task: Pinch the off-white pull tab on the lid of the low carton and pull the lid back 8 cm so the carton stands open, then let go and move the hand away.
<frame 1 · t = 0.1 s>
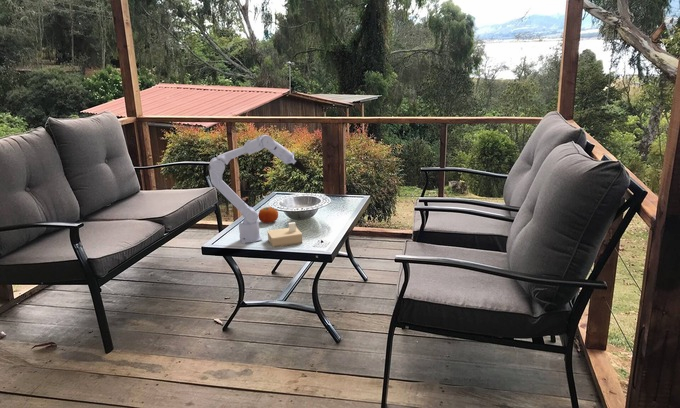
hand: (303, 169, 247), 32 cm above the table, fingers open, 7 cm apart
fruit: (268, 222, 275), on the table
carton: (285, 241, 242), on the table
lid: (284, 228, 241), point 6 cm above the table, slide at 0.0 cm
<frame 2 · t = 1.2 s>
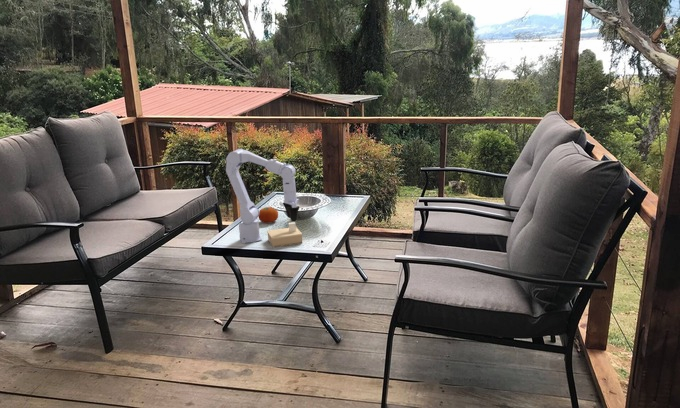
hand: (292, 219, 241), 11 cm above the table, fingers open, 7 cm apart
nothing on the table moved.
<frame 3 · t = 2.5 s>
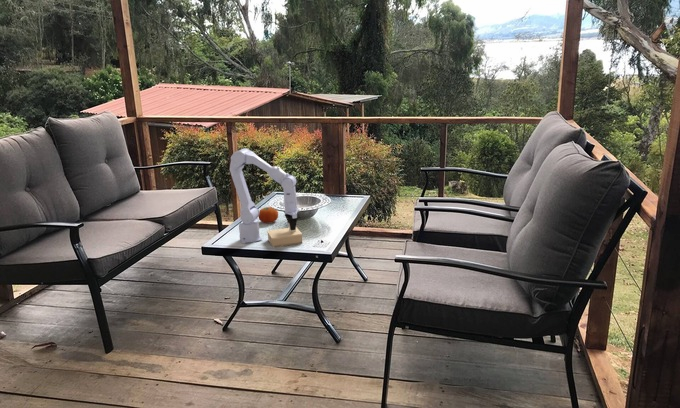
hand: (292, 229, 242), 6 cm above the table, fingers closed on lid, 2 cm apart
lid: (284, 228, 241), point 6 cm above the table, slide at 0.0 cm, touching gripper
everything else where it was.
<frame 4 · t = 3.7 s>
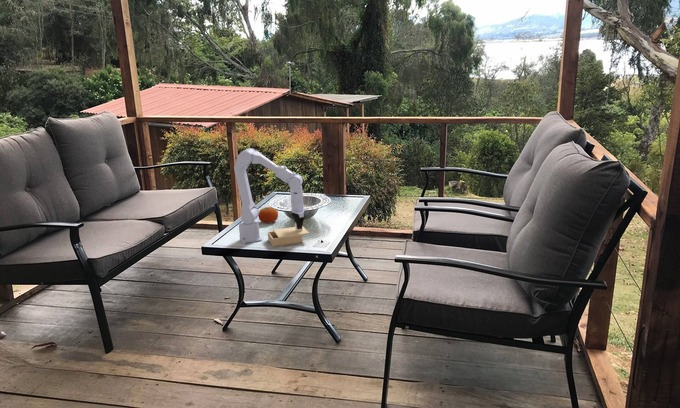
hand: (299, 228, 243), 6 cm above the table, fingers closed on lid, 2 cm apart
lid: (290, 227, 242), point 6 cm above the table, slide at 3.2 cm, touching gripper
everything else where it was.
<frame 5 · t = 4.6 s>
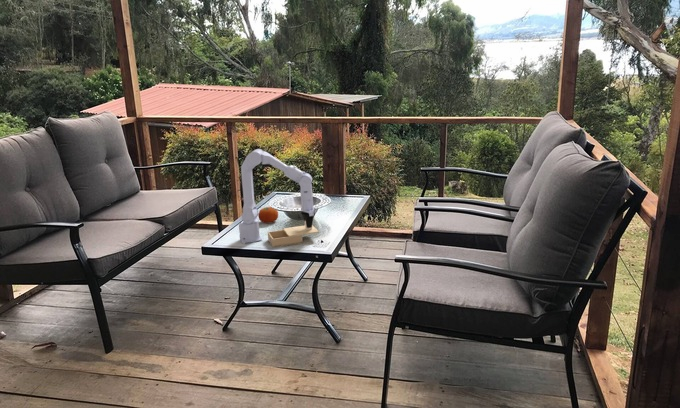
hand: (308, 226, 244), 6 cm above the table, fingers closed on lid, 2 cm apart
lid: (300, 226, 243), point 6 cm above the table, slide at 7.9 cm, touching gripper
everything else where it was.
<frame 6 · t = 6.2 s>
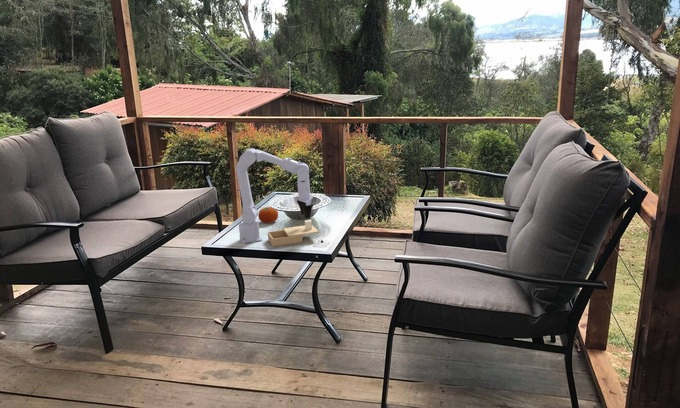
hand: (305, 216, 245), 10 cm above the table, fingers open, 7 cm apart
lid: (300, 226, 243), point 6 cm above the table, slide at 7.9 cm
everything else where it was.
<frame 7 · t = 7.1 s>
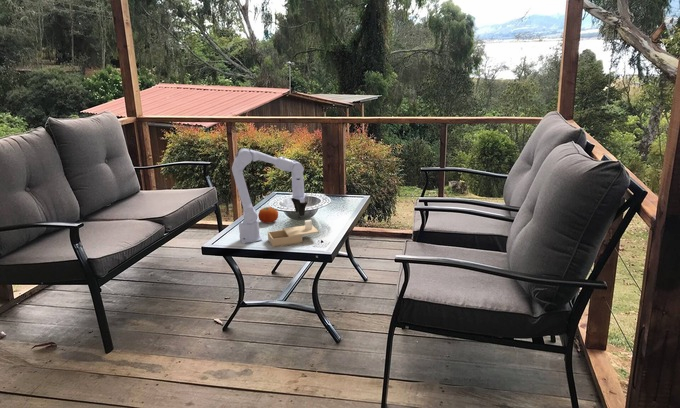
hand: (299, 213, 250), 10 cm above the table, fingers open, 7 cm apart
nothing on the table moved.
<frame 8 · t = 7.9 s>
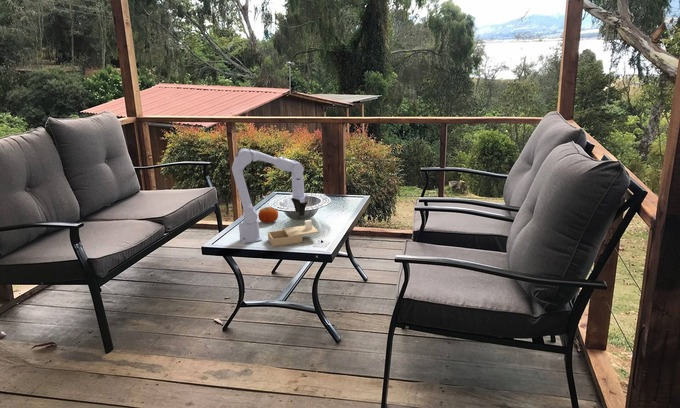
hand: (299, 213, 250), 10 cm above the table, fingers open, 7 cm apart
nothing on the table moved.
at the end: lid slide at 7.9 cm; the gripper is holding nothing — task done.
